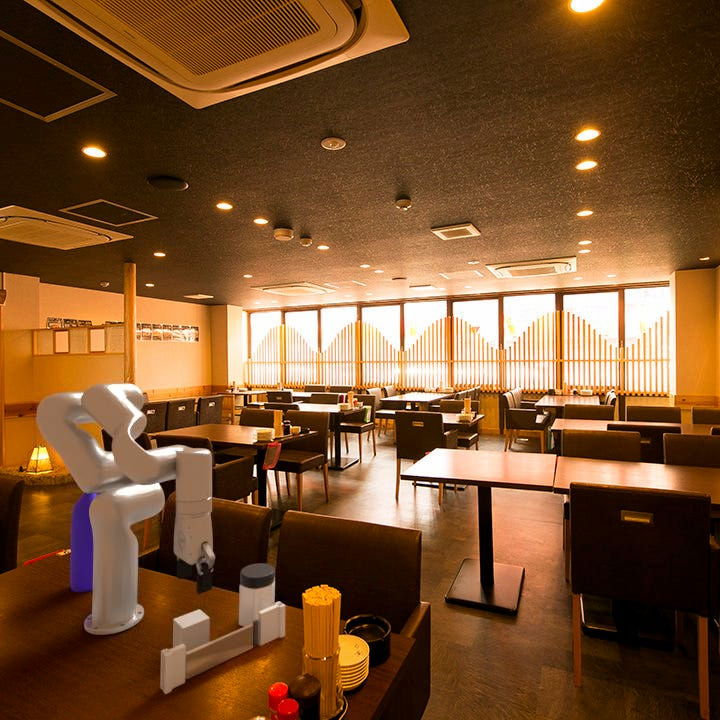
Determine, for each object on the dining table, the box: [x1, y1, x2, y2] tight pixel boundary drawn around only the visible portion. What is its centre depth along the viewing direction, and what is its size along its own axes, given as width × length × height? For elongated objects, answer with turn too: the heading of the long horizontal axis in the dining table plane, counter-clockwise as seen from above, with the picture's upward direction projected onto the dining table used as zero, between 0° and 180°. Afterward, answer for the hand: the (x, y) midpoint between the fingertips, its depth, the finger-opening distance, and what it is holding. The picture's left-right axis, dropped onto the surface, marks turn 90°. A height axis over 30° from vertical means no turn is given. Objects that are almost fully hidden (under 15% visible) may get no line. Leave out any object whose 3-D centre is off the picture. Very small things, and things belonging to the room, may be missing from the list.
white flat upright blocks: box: [159, 601, 286, 695], centre depth 96 cm, size 2×27×7 cm, turn 134°
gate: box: [185, 620, 259, 680], centre depth 95 cm, size 1×16×5 cm, turn 134°
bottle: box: [69, 492, 99, 593], centre depth 127 cm, size 8×8×30 cm
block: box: [172, 609, 211, 657], centre depth 100 cm, size 5×6×6 cm
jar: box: [238, 562, 276, 627], centre depth 111 cm, size 9×8×12 cm
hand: (194, 584), depth 100 cm, fingers open, 9 cm apart
